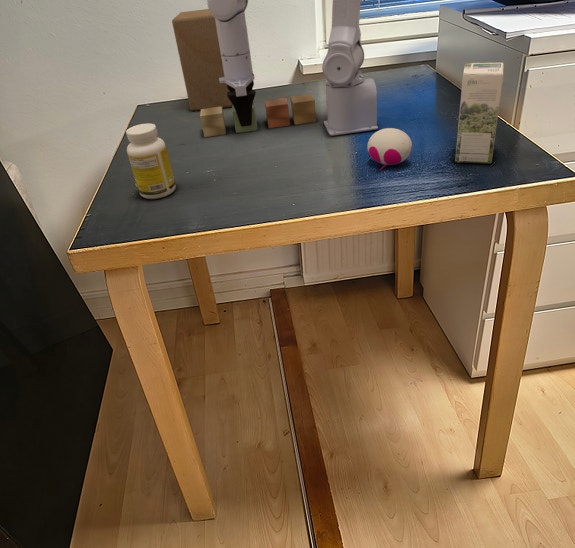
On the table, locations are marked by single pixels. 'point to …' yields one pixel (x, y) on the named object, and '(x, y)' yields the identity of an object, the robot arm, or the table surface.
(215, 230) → the table surface
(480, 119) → the syrup box
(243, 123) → the robot arm
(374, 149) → the stress ball
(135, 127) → the pill bottle
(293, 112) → the block line
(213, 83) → the wooden block
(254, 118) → the pale green cube
